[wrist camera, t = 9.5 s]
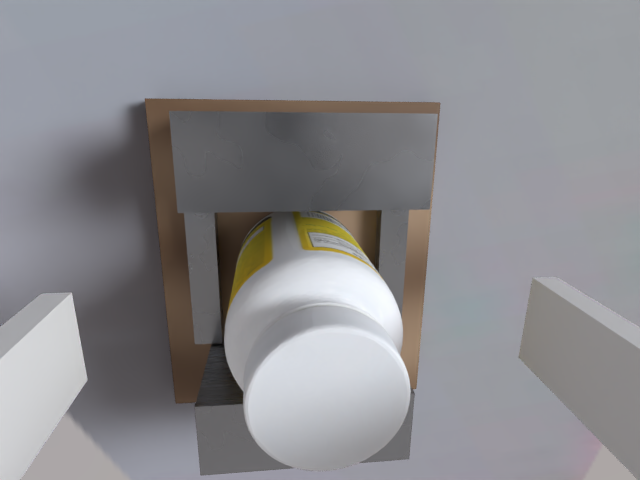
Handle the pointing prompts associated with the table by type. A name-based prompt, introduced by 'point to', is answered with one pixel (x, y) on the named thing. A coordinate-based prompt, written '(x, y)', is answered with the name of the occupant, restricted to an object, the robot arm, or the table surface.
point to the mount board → (238, 224)
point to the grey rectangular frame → (284, 196)
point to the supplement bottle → (315, 344)
